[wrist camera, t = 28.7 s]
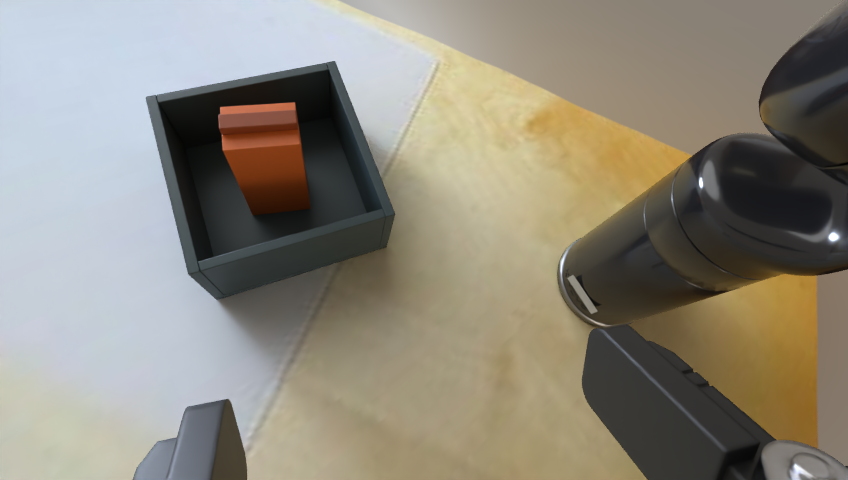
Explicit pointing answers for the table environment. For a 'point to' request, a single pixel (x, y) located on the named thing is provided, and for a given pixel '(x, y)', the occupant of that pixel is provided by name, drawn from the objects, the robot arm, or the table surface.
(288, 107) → the block
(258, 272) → the bin
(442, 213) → the table surface
